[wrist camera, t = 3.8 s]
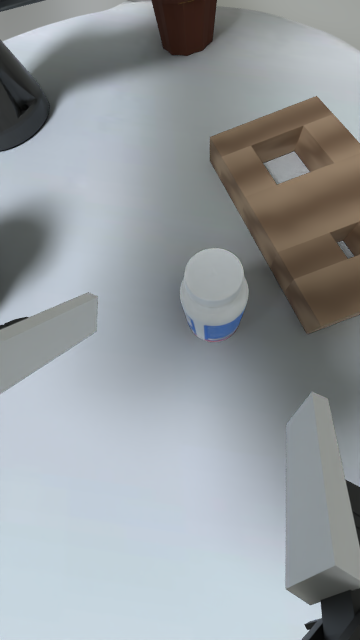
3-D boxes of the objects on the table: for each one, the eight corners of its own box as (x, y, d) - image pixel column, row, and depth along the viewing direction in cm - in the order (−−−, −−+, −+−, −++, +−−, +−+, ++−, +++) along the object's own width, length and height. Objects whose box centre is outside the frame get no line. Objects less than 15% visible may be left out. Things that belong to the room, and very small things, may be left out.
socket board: (209, 160, 31) (209, 137, 28) (306, 123, 31) (316, 95, 28) (307, 334, 23) (321, 326, 20) (440, 284, 22) (474, 269, 20)
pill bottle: (247, 307, 24) (270, 255, 15) (225, 352, 23) (237, 326, 14) (201, 287, 25) (196, 228, 16) (178, 329, 24) (160, 291, 15)
